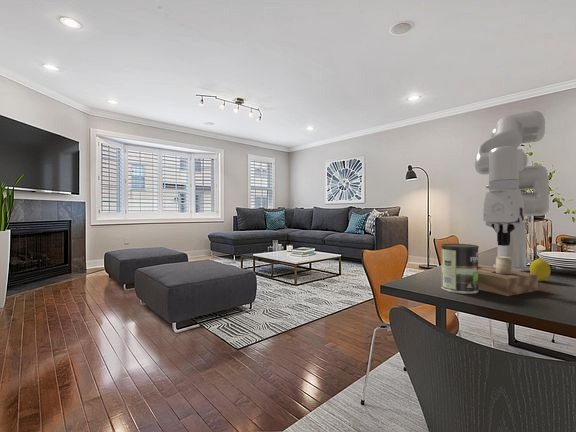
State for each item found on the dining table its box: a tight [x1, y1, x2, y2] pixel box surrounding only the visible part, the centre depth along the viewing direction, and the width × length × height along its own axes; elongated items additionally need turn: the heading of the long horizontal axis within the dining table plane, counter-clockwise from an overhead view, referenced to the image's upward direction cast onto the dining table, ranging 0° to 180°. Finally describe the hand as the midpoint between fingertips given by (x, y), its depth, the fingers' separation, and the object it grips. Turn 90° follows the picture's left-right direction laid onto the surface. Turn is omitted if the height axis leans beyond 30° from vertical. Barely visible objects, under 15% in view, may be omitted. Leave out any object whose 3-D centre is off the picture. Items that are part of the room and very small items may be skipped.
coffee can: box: [440, 243, 480, 295], centre depth 95 cm, size 10×10×14 cm
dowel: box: [495, 255, 512, 276], centre depth 95 cm, size 4×4×10 cm
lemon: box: [529, 257, 552, 282], centre depth 104 cm, size 6×6×8 cm
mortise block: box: [478, 264, 539, 297], centre depth 100 cm, size 14×22×6 cm, turn 22°
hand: (503, 245), depth 95 cm, fingers closed
